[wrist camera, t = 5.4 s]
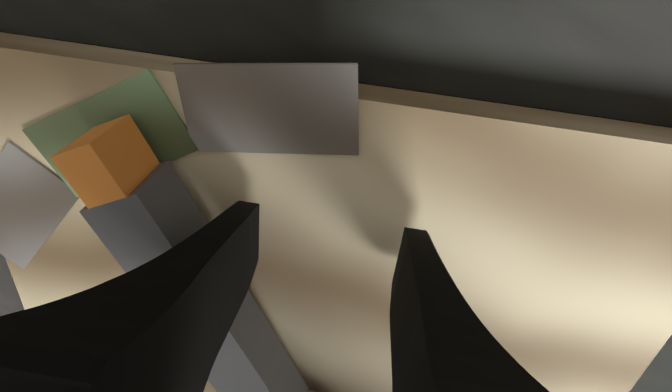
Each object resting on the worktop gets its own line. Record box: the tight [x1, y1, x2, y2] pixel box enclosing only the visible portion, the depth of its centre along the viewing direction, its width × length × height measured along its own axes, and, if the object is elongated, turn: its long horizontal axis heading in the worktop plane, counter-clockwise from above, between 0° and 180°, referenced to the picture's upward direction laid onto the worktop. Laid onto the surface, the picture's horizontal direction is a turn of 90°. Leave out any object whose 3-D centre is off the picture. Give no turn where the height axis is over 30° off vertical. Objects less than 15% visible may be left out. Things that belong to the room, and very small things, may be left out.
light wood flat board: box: [0, 32, 672, 392], centre depth 15 cm, size 15×23×1 cm, turn 84°
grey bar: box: [50, 114, 315, 392], centre depth 14 cm, size 15×4×3 cm, turn 21°
